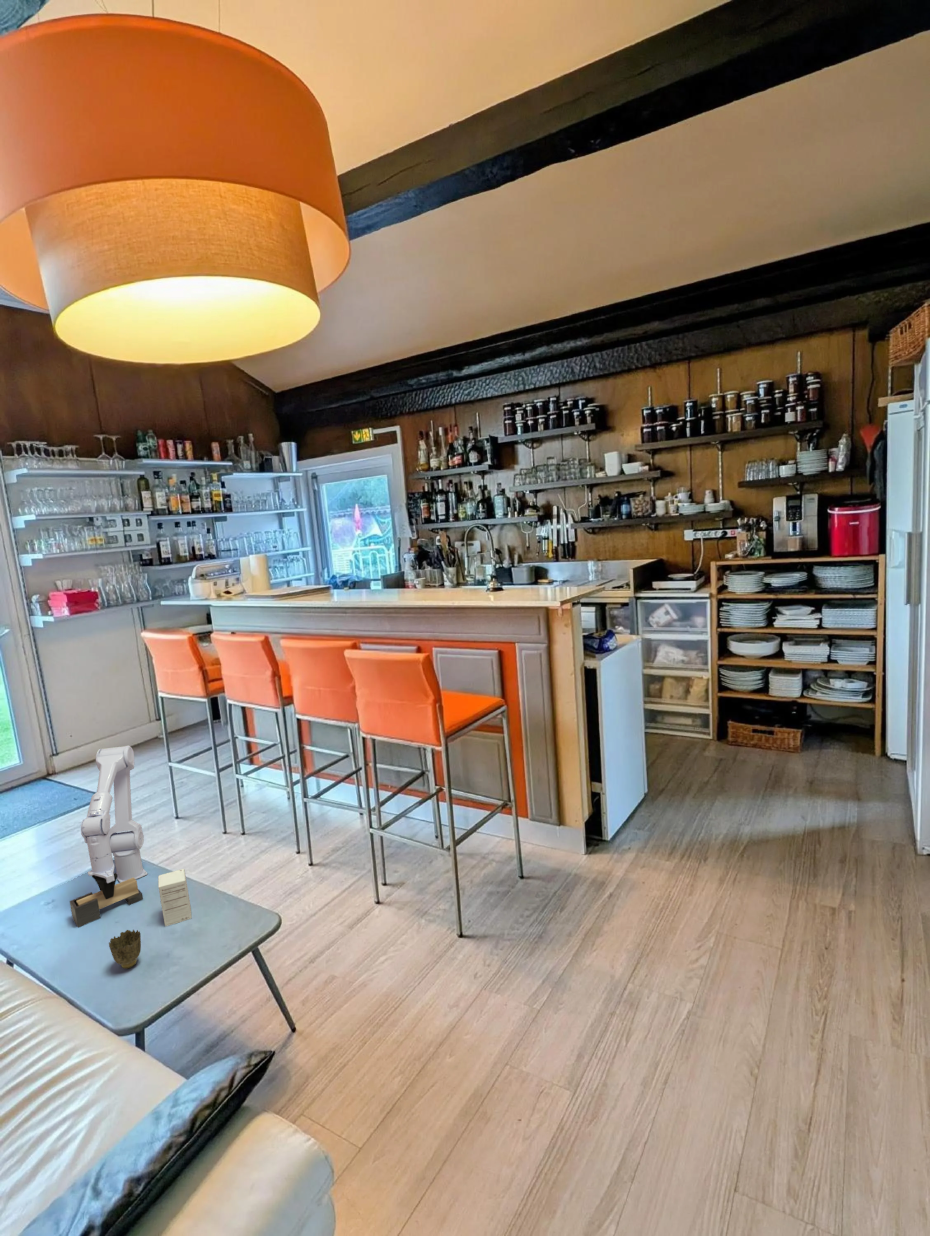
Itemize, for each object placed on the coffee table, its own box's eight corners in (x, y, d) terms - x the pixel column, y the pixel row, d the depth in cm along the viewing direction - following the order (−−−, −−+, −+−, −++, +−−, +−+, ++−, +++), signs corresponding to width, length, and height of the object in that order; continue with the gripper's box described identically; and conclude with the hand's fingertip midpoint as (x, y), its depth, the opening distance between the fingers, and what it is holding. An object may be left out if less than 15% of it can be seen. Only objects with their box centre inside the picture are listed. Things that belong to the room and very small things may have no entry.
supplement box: (164, 913, 192) (157, 875, 190) (191, 906, 195) (185, 867, 193) (164, 927, 185) (157, 887, 183) (192, 919, 188) (185, 879, 186)
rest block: (123, 898, 202) (122, 892, 202) (136, 892, 205) (135, 886, 204) (129, 905, 198) (128, 899, 197) (143, 899, 200) (142, 893, 200)
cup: (137, 952, 175) (132, 925, 174) (150, 962, 170) (145, 935, 169) (108, 968, 170) (103, 940, 168) (120, 979, 165) (115, 951, 164)
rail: (78, 913, 192) (76, 901, 191) (135, 889, 203) (133, 877, 202) (81, 917, 190) (78, 904, 189) (138, 892, 201) (136, 880, 200)
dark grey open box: (72, 919, 192) (69, 901, 191) (95, 910, 196) (91, 892, 195) (78, 927, 188) (74, 909, 187) (100, 918, 192) (97, 899, 191)
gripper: (79, 851, 196) (86, 892, 198) (92, 868, 186) (100, 911, 188) (104, 842, 201) (111, 882, 203) (118, 858, 191) (126, 899, 193)
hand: (107, 895), depth 196 cm, fingers closed on rail, 3 cm apart
